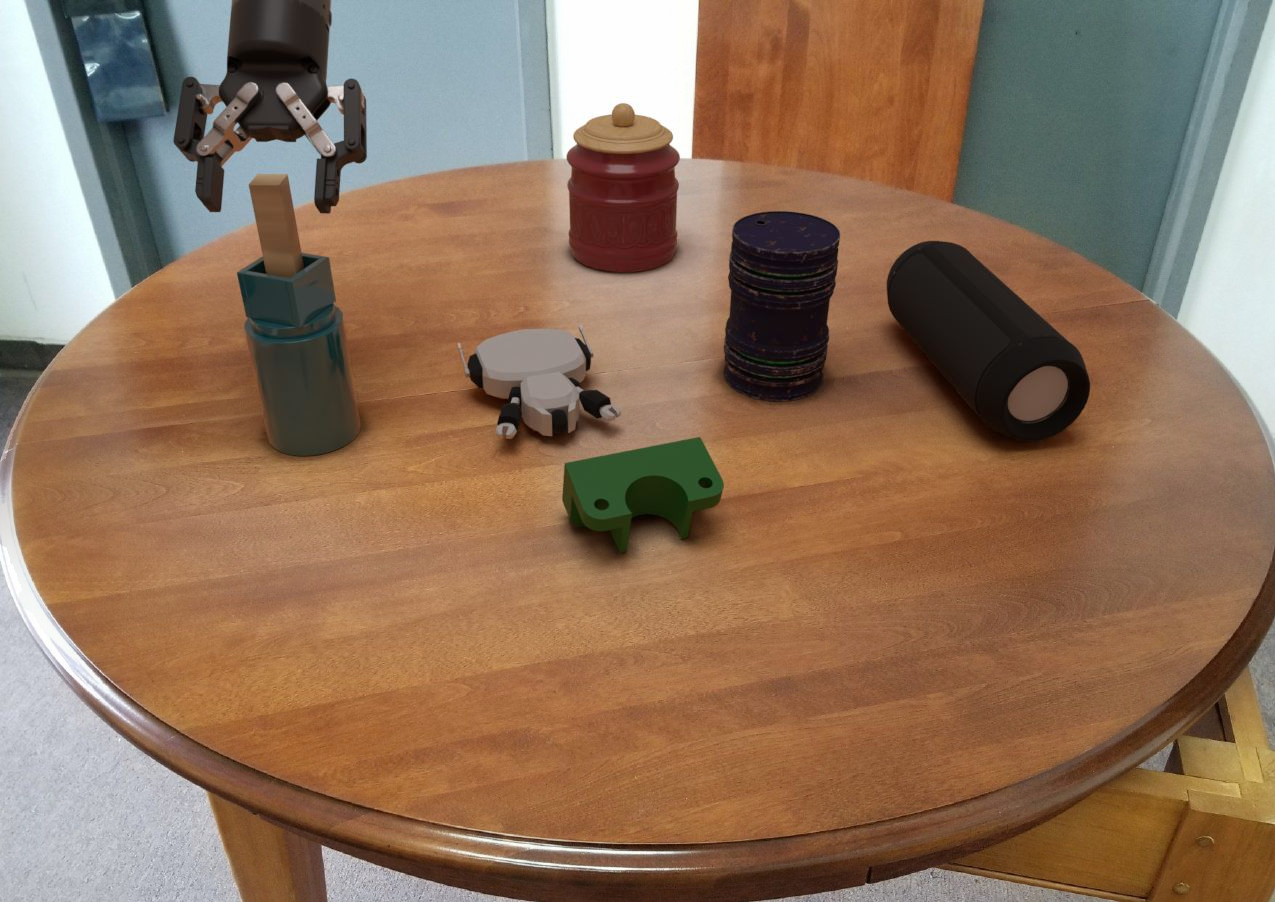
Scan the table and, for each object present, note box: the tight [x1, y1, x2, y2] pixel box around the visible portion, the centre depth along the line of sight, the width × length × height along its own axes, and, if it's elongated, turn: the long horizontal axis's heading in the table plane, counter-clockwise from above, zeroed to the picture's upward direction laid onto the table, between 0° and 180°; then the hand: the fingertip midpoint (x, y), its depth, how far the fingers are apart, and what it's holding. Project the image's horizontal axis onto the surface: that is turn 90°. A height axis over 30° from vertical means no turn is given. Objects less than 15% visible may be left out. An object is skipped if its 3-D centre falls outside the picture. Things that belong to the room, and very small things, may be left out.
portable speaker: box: [886, 240, 1091, 443], centre depth 101 cm, size 26×10×10 cm, turn 11°
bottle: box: [236, 252, 362, 457], centre depth 91 cm, size 8×8×16 cm
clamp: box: [561, 436, 725, 554], centre depth 83 cm, size 12×6×9 cm, turn 104°
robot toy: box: [457, 324, 622, 440], centre depth 98 cm, size 12×4×15 cm
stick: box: [248, 173, 304, 278], centre depth 86 cm, size 2×2×11 cm
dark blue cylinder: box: [723, 210, 841, 402], centre depth 100 cm, size 10×10×15 cm
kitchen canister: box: [565, 102, 681, 273], centre depth 124 cm, size 13×13×18 cm
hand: (267, 209), depth 83 cm, fingers open, 8 cm apart
